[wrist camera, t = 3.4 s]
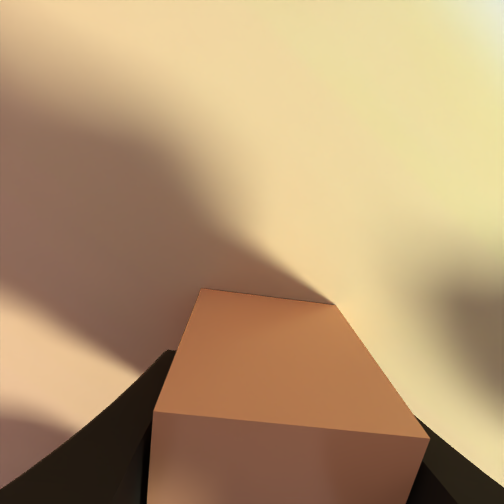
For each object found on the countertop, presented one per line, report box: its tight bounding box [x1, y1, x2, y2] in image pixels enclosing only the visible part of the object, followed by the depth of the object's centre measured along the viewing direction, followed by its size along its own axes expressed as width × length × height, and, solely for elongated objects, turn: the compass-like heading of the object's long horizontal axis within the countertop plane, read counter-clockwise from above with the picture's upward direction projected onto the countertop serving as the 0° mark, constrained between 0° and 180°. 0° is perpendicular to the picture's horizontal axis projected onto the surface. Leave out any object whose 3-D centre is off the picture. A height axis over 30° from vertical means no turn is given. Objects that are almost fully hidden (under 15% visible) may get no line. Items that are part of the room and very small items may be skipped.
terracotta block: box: [147, 288, 430, 504], centre depth 8 cm, size 4×4×5 cm
